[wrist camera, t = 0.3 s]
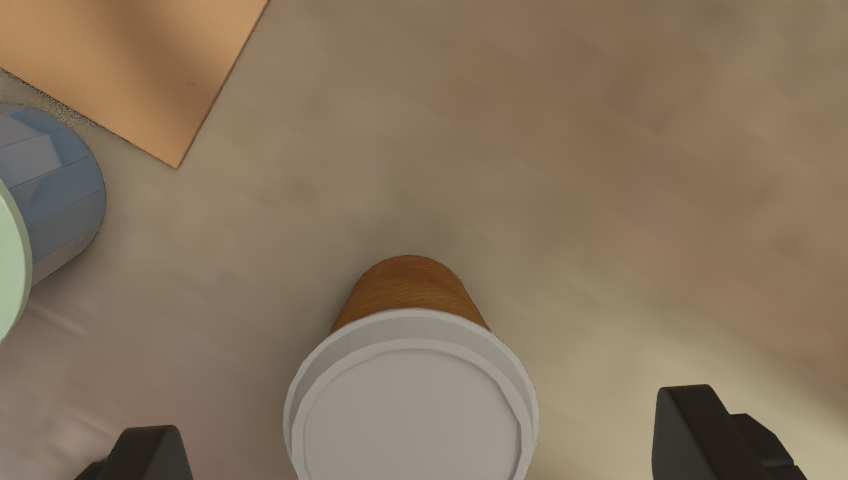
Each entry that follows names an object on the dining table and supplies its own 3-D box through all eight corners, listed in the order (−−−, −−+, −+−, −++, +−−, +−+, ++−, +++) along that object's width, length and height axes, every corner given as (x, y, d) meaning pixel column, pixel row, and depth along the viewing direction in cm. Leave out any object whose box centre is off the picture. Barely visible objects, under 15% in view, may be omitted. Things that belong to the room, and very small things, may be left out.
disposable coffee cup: (280, 319, 35) (222, 460, 24) (401, 185, 33) (400, 269, 22) (416, 423, 37) (422, 599, 26) (537, 303, 36) (602, 436, 24)
